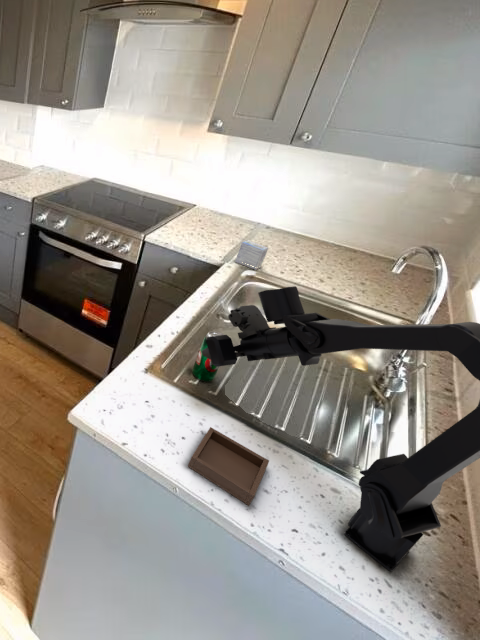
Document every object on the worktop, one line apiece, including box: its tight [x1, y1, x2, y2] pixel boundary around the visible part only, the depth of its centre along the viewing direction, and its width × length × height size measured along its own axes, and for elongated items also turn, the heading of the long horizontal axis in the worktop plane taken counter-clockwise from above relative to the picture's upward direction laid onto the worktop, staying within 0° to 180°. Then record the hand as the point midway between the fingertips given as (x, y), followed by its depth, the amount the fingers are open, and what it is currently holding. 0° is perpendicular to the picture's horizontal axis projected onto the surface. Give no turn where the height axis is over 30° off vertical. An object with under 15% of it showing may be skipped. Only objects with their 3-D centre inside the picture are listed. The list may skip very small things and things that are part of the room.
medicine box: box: [234, 239, 269, 271], centre depth 163 cm, size 8×4×9 cm, turn 34°
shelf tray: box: [187, 426, 270, 506], centre depth 81 cm, size 11×11×3 cm
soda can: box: [191, 330, 225, 383], centre depth 102 cm, size 5×5×12 cm
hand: (219, 351), depth 100 cm, fingers open, 9 cm apart
